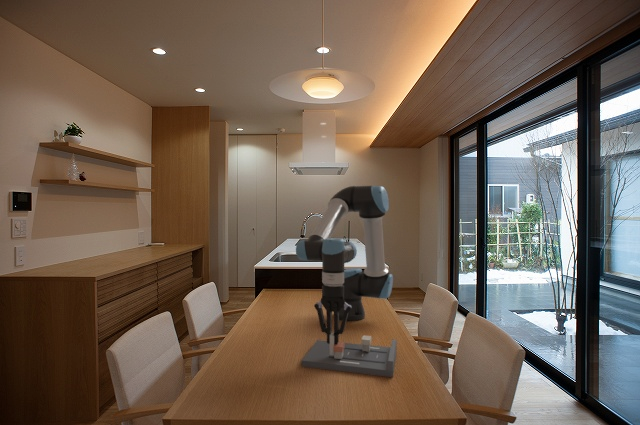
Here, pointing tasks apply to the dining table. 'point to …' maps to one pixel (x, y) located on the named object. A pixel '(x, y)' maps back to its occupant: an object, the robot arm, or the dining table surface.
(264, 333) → the dining table surface
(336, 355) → the fader
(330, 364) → the console
